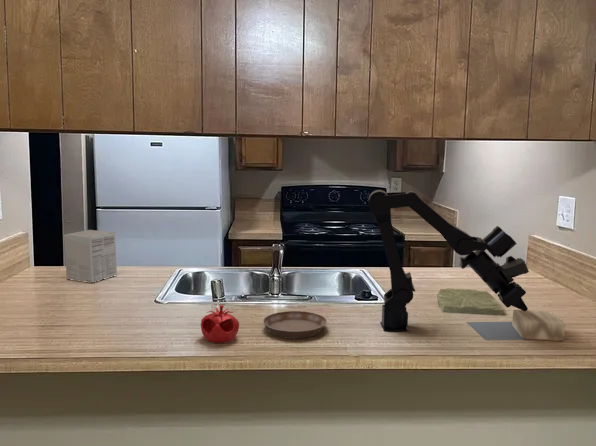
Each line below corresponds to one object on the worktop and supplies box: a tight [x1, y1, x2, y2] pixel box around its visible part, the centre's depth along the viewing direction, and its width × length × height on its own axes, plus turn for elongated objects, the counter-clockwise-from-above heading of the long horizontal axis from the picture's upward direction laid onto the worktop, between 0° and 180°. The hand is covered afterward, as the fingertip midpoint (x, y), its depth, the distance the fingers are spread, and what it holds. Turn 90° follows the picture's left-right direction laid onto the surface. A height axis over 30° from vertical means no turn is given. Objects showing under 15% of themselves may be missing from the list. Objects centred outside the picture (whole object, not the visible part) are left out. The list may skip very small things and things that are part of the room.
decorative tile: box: [436, 288, 504, 317], centre depth 167 cm, size 19×20×4 cm
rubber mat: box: [466, 321, 570, 341], centre depth 144 cm, size 22×14×1 cm, turn 92°
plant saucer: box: [262, 310, 327, 339], centre depth 145 cm, size 18×18×3 cm
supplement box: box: [63, 229, 118, 283], centre depth 197 cm, size 13×13×18 cm
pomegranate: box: [200, 304, 240, 344], centre depth 137 cm, size 10×10×9 cm
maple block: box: [511, 309, 567, 342], centre depth 141 cm, size 5×10×10 cm
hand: (526, 309), depth 141 cm, fingers closed
